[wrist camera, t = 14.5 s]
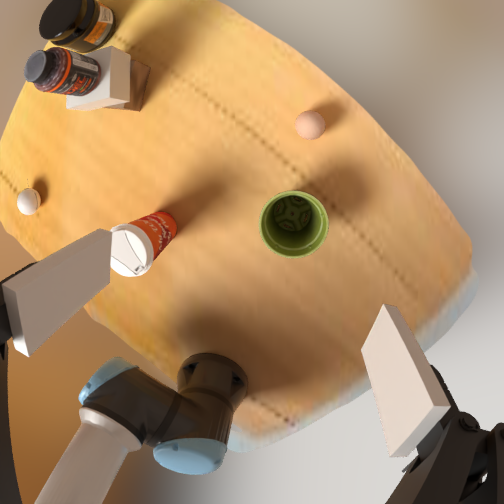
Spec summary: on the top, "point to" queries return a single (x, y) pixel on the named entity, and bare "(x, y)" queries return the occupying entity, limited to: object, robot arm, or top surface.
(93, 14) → the supplement container
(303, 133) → the egg
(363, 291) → the top surface
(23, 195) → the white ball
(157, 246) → the paper cup
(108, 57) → the top block
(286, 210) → the plant pot
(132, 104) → the bottom block
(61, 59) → the supplement bottle
